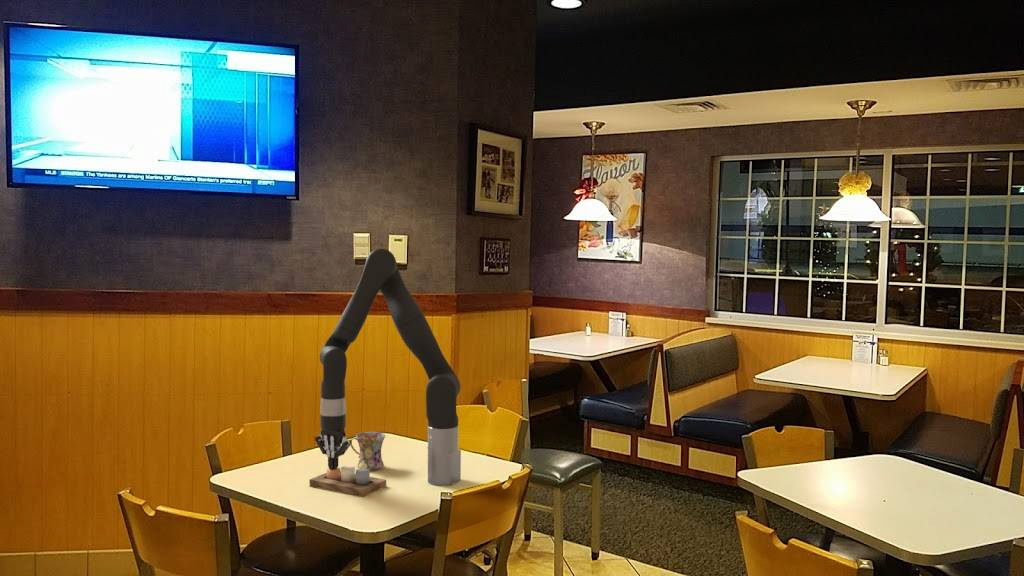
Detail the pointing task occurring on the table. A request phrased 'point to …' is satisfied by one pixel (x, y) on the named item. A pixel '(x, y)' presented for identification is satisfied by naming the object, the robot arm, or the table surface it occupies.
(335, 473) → the salmon pink cube
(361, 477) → the light blue cube
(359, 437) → the mug
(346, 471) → the button mid
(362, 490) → the button board
